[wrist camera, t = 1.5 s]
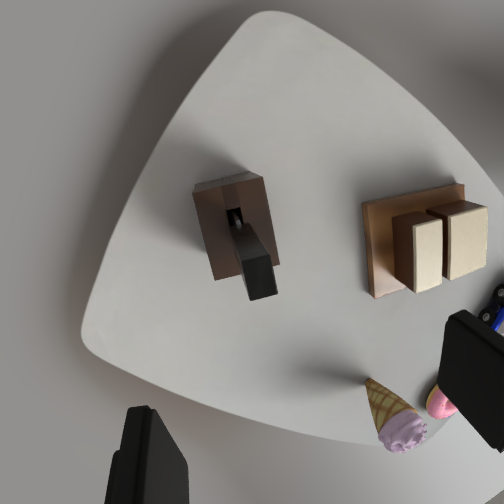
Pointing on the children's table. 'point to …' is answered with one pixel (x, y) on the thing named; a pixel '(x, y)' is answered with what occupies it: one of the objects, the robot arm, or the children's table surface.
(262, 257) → the knife
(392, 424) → the ice cream cone
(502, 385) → the robot arm
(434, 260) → the cake slice
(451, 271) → the cake
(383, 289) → the cutting board
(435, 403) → the doughnut
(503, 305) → the toy car
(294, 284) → the children's table surface
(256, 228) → the knife block
